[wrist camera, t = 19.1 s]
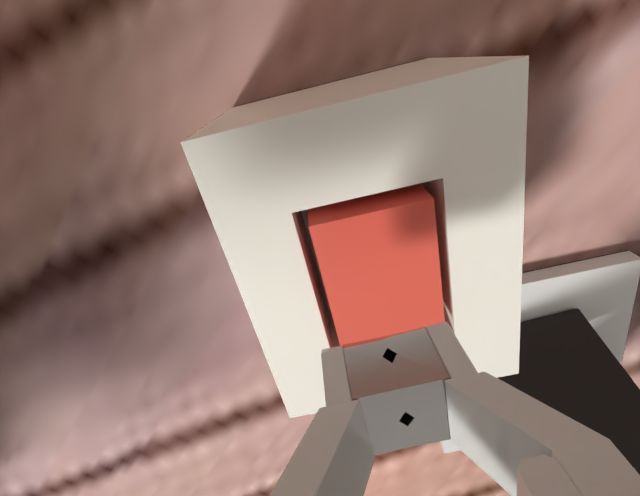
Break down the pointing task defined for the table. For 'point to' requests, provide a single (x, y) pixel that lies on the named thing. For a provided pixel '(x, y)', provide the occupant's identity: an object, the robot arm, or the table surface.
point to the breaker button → (379, 262)
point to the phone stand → (579, 378)
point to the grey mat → (584, 297)
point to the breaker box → (366, 179)
